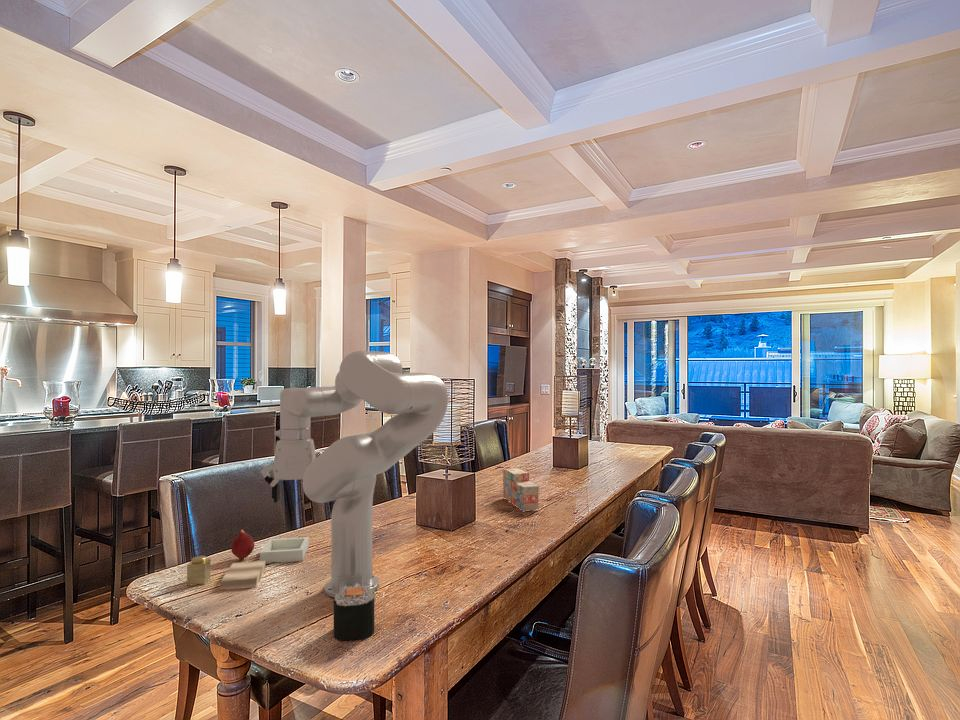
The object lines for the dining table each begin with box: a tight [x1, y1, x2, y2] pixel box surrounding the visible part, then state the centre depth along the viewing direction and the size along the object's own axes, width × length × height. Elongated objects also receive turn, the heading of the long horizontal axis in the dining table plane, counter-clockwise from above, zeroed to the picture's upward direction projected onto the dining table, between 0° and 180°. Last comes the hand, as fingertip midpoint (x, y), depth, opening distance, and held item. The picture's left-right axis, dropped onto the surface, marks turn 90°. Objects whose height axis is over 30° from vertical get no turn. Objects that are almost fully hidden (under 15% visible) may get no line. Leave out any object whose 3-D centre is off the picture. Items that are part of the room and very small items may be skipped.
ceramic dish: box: [259, 536, 310, 564], centre depth 146 cm, size 11×11×3 cm
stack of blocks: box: [502, 467, 540, 511], centre depth 198 cm, size 21×6×12 cm, turn 17°
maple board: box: [219, 560, 267, 591], centre depth 130 cm, size 12×8×2 cm, turn 13°
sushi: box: [332, 585, 376, 643], centre depth 103 cm, size 8×8×8 cm
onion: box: [230, 529, 255, 560], centre depth 143 cm, size 6×6×8 cm
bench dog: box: [186, 555, 211, 586], centre depth 128 cm, size 4×4×6 cm
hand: (295, 500), depth 136 cm, fingers open, 9 cm apart
